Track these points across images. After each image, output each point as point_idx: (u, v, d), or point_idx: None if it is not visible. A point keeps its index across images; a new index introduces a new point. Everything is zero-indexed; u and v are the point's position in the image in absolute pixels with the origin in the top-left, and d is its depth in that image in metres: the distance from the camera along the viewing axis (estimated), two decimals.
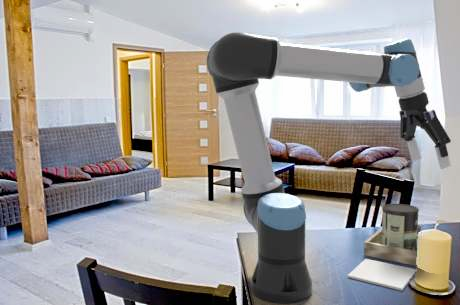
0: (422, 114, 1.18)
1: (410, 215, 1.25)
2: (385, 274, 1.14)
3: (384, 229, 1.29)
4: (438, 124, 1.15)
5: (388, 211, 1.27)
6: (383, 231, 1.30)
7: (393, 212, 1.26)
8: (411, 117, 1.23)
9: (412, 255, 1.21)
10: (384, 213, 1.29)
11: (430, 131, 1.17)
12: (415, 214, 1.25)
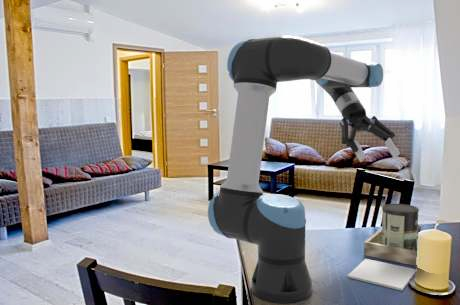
0: None
1: (410, 215, 1.25)
2: (385, 274, 1.14)
3: (384, 229, 1.29)
4: None
5: (388, 211, 1.27)
6: (383, 231, 1.30)
7: (393, 212, 1.26)
8: None
9: (412, 255, 1.21)
10: (384, 213, 1.29)
11: None
12: (415, 214, 1.25)
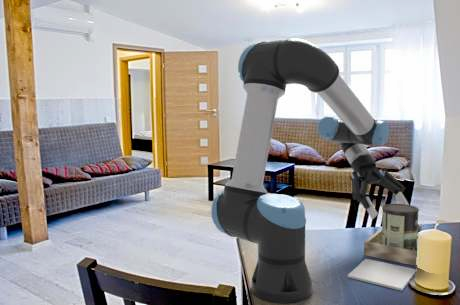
0: None
1: (410, 215, 1.25)
2: (385, 274, 1.14)
3: (384, 229, 1.29)
4: None
5: (388, 211, 1.27)
6: (383, 231, 1.30)
7: (393, 212, 1.26)
8: None
9: (412, 255, 1.21)
10: (384, 213, 1.29)
11: None
12: (415, 214, 1.25)
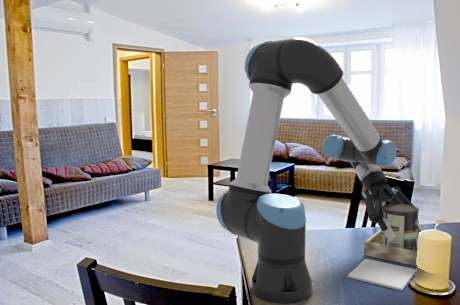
0: None
1: (410, 215, 1.25)
2: (385, 274, 1.14)
3: None
4: None
5: (388, 211, 1.27)
6: (383, 231, 1.30)
7: (393, 212, 1.26)
8: None
9: (412, 255, 1.21)
10: (384, 213, 1.29)
11: None
12: (415, 214, 1.25)
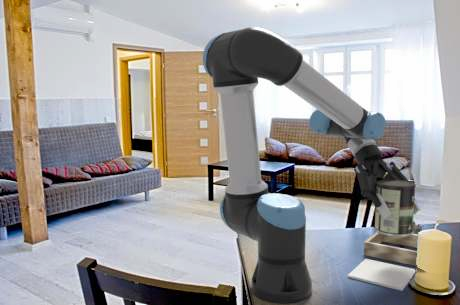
0: None
1: (406, 189, 1.15)
2: (385, 274, 1.14)
3: None
4: None
5: (383, 185, 1.17)
6: (377, 208, 1.20)
7: (388, 186, 1.16)
8: None
9: (412, 255, 1.21)
10: (378, 188, 1.19)
11: None
12: (412, 189, 1.16)
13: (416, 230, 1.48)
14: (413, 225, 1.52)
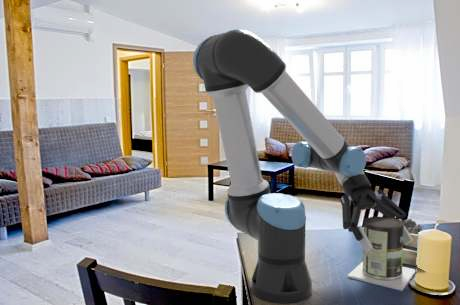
0: None
1: (394, 231, 1.09)
2: None
3: None
4: None
5: (369, 226, 1.11)
6: None
7: (375, 227, 1.10)
8: None
9: (412, 255, 1.21)
10: (365, 228, 1.13)
11: None
12: (400, 230, 1.10)
13: (416, 230, 1.47)
14: (414, 225, 1.52)
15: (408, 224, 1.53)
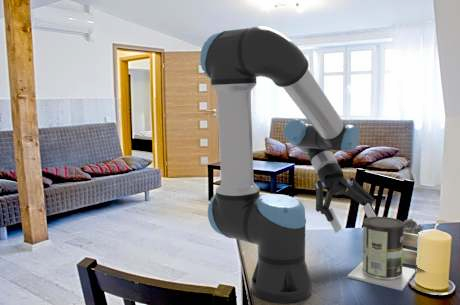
0: None
1: (394, 231, 1.09)
2: None
3: (365, 246, 1.14)
4: None
5: (369, 226, 1.11)
6: (364, 248, 1.14)
7: (375, 227, 1.10)
8: None
9: (412, 255, 1.21)
10: (365, 228, 1.13)
11: None
12: (400, 230, 1.10)
13: (416, 230, 1.47)
14: (414, 225, 1.52)
15: (409, 224, 1.53)
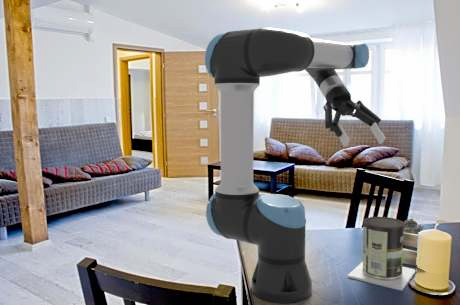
0: None
1: (394, 231, 1.09)
2: None
3: (365, 246, 1.14)
4: None
5: (369, 226, 1.11)
6: (364, 248, 1.14)
7: (375, 227, 1.10)
8: None
9: (412, 255, 1.21)
10: (365, 228, 1.13)
11: None
12: (400, 230, 1.10)
13: (416, 230, 1.47)
14: None
15: (409, 224, 1.53)
